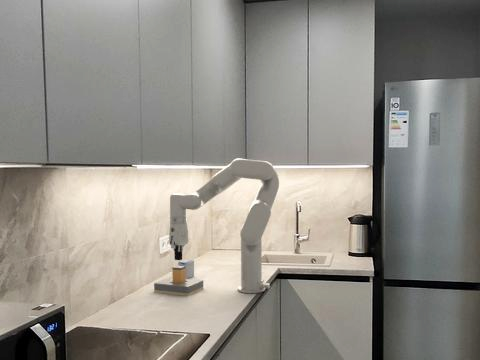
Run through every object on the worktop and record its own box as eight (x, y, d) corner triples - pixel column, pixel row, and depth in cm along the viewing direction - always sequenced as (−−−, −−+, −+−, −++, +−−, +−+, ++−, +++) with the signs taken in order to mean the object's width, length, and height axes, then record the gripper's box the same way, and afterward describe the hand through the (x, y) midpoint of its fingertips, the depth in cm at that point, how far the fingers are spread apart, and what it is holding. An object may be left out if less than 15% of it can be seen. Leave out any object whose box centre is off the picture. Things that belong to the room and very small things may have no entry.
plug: (185, 287, 226) (185, 266, 225) (180, 289, 222) (180, 267, 221) (177, 286, 227) (177, 265, 227) (172, 288, 223) (172, 267, 223)
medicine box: (187, 275, 256) (187, 259, 256) (194, 276, 254) (194, 260, 254) (178, 278, 250) (178, 261, 249) (185, 279, 247) (184, 262, 247)
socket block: (203, 288, 227) (203, 280, 227) (188, 295, 214) (188, 286, 214) (170, 285, 235) (170, 277, 234) (154, 291, 222) (154, 283, 222)
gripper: (176, 222, 216) (176, 263, 216) (193, 219, 229) (193, 257, 229) (162, 221, 219) (162, 261, 219) (179, 218, 232) (179, 256, 233)
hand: (178, 259), depth 224 cm, fingers closed
